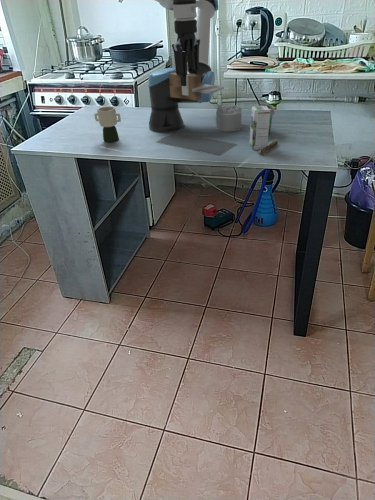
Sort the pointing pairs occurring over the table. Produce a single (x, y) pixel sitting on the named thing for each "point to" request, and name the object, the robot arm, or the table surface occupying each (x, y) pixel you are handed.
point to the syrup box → (259, 127)
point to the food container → (270, 114)
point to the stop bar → (268, 147)
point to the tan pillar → (190, 87)
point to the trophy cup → (108, 122)
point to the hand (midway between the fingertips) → (188, 93)
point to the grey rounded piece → (228, 118)
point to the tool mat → (197, 143)
